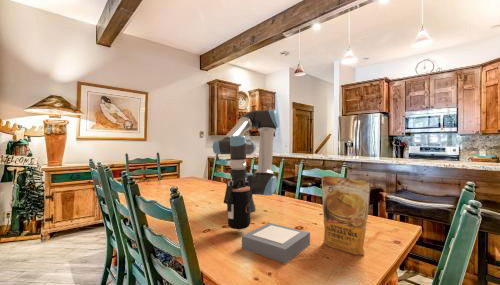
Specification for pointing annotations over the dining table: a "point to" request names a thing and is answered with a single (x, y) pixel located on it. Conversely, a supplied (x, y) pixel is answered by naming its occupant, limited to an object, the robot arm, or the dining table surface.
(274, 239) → the stand
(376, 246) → the dining table surface
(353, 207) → the pancake mix bag
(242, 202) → the coffee jar
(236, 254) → the dining table surface
